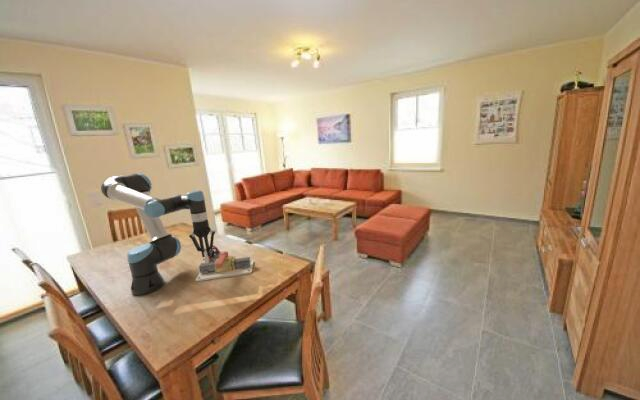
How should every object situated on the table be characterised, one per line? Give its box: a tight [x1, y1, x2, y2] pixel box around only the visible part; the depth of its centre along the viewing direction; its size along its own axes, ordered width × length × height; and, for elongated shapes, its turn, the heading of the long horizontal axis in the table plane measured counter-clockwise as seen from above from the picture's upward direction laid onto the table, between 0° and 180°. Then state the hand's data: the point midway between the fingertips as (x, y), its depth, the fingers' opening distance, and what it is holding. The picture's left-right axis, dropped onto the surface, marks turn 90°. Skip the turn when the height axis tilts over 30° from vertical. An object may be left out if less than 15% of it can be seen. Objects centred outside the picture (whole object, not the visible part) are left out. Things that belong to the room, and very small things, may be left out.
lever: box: [216, 250, 229, 268], centre depth 140 cm, size 17×4×2 cm, turn 10°
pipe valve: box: [198, 255, 251, 275], centre depth 147 cm, size 28×7×9 cm, turn 100°
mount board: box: [195, 259, 254, 282], centre depth 148 cm, size 30×16×1 cm, turn 100°
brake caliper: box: [202, 245, 221, 262], centre depth 163 cm, size 11×11×12 cm
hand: (207, 261), depth 135 cm, fingers closed
